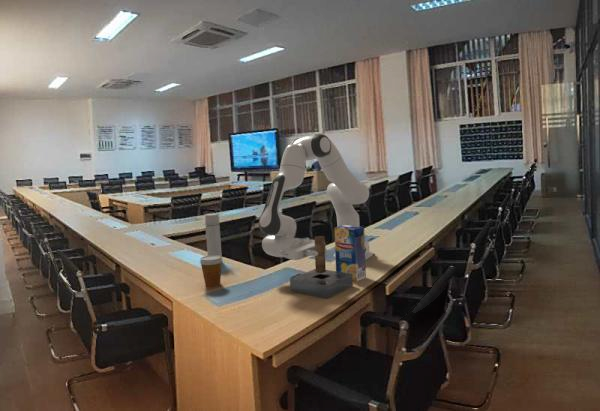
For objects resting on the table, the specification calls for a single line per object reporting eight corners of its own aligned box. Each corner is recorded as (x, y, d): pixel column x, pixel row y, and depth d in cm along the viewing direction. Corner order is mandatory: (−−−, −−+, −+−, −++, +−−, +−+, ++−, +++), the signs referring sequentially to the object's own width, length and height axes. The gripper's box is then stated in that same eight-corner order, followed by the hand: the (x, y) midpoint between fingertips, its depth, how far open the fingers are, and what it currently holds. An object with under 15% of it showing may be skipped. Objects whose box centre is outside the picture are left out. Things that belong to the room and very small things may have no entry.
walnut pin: (319, 269, 181) (318, 235, 180) (327, 271, 179) (326, 236, 177) (313, 272, 178) (312, 237, 177) (321, 273, 176) (320, 238, 174)
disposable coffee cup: (199, 283, 194) (197, 256, 193) (221, 280, 198) (219, 253, 197) (204, 289, 186) (201, 261, 184) (226, 285, 189) (224, 258, 188)
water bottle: (225, 261, 231) (221, 214, 228) (210, 264, 227) (207, 216, 223) (217, 258, 239) (214, 212, 235) (203, 261, 234) (200, 214, 231)
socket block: (316, 279, 192) (316, 268, 192) (352, 285, 181) (352, 273, 180) (290, 291, 178) (289, 279, 178) (327, 298, 167) (327, 285, 166)
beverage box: (345, 273, 199) (344, 225, 197) (366, 277, 192) (364, 227, 189) (336, 277, 195) (334, 227, 192) (356, 281, 187) (354, 229, 184)
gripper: (278, 246, 177) (305, 249, 169) (308, 236, 193) (335, 239, 185) (278, 261, 178) (306, 265, 169) (309, 251, 194) (336, 254, 185)
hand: (321, 252), depth 177 cm, fingers closed on walnut pin, 4 cm apart
